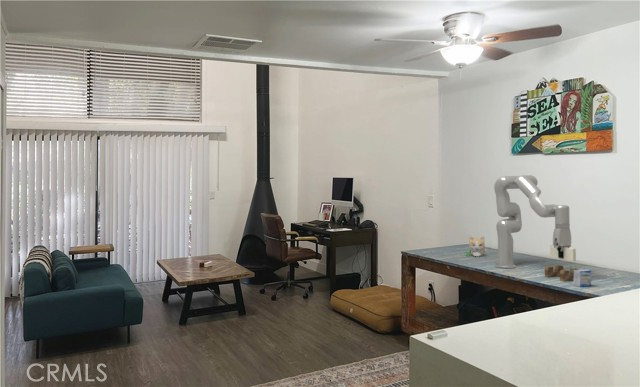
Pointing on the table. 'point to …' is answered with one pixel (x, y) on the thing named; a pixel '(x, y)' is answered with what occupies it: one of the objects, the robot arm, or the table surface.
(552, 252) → the cream rectangular block
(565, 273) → the walnut rail
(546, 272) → the walnut rail
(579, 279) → the medicine box
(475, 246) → the kitten
